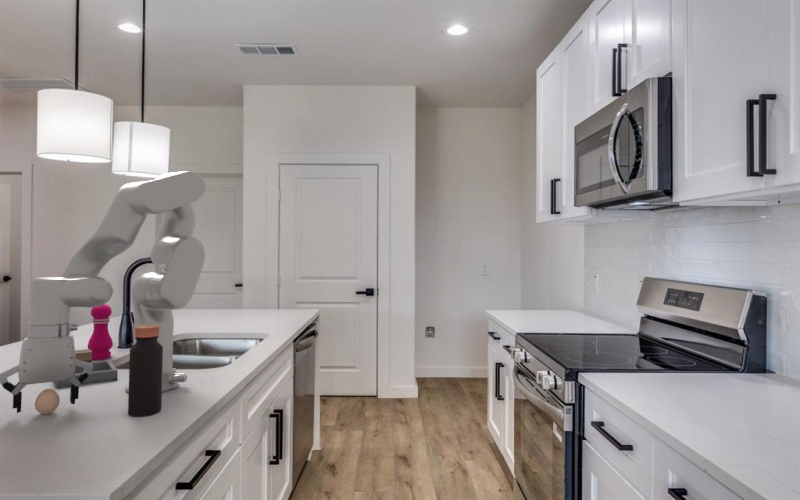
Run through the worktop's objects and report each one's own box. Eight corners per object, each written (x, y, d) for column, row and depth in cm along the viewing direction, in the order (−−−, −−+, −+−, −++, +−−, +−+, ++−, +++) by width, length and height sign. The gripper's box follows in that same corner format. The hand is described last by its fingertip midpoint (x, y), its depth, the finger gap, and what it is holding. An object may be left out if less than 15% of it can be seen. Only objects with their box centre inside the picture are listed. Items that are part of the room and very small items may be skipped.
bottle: (139, 406, 109) (141, 323, 109) (167, 407, 109) (169, 324, 109) (121, 416, 102) (123, 328, 102) (150, 418, 102) (153, 329, 102)
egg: (41, 418, 100) (42, 393, 100) (30, 415, 102) (30, 390, 102) (63, 412, 104) (64, 387, 104) (52, 409, 106) (52, 385, 106)
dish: (117, 379, 130) (117, 370, 130) (56, 388, 121) (56, 377, 121) (109, 369, 141) (110, 360, 141) (53, 376, 132) (53, 367, 132)
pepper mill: (116, 357, 156) (118, 299, 156) (93, 361, 150) (95, 301, 150) (106, 354, 160) (107, 298, 160) (83, 358, 154) (84, 299, 154)
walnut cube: (91, 367, 143) (91, 351, 143) (72, 369, 140) (72, 353, 140) (89, 364, 147) (90, 349, 147) (70, 366, 144) (71, 350, 144)
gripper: (92, 326, 111) (90, 395, 111) (-1, 332, 100) (-4, 409, 100) (96, 330, 106) (94, 403, 105) (-3, 337, 94) (-6, 419, 94)
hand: (46, 406), depth 103 cm, fingers open, 9 cm apart
